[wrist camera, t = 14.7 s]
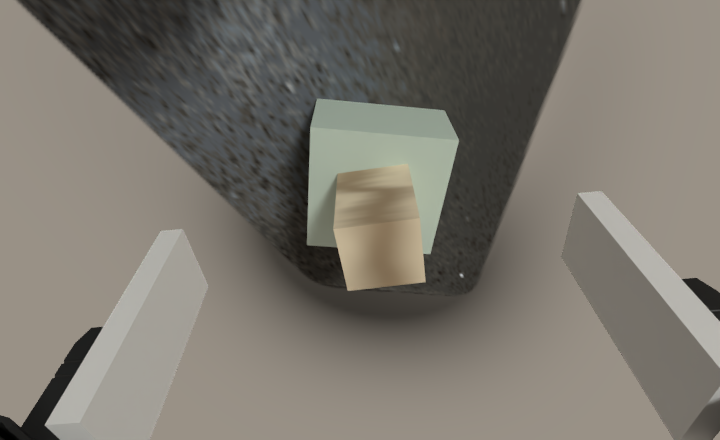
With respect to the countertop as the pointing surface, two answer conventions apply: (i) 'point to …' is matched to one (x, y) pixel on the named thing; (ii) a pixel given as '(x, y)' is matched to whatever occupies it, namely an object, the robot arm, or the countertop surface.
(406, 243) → the maple block
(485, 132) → the countertop surface
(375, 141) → the sage block
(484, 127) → the countertop surface
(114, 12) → the countertop surface
